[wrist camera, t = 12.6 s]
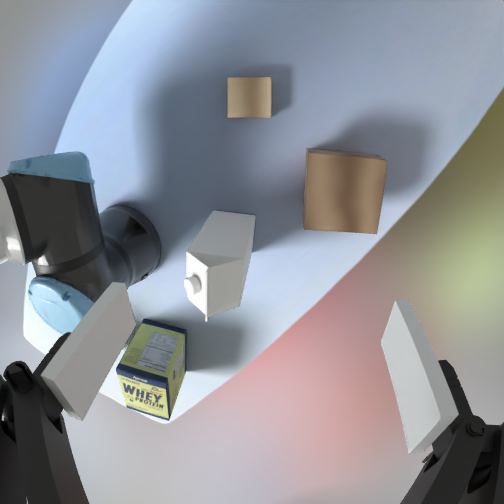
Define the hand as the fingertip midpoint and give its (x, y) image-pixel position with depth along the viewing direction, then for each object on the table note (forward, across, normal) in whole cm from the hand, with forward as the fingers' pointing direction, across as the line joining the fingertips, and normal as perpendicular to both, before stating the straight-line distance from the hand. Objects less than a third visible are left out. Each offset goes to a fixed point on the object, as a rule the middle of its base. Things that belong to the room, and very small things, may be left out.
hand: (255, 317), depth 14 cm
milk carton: (+35, +7, +11) cm, 37 cm away
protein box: (+35, +24, +41) cm, 59 cm away
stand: (+35, +4, -11) cm, 37 cm away
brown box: (+30, -9, +1) cm, 31 cm away
